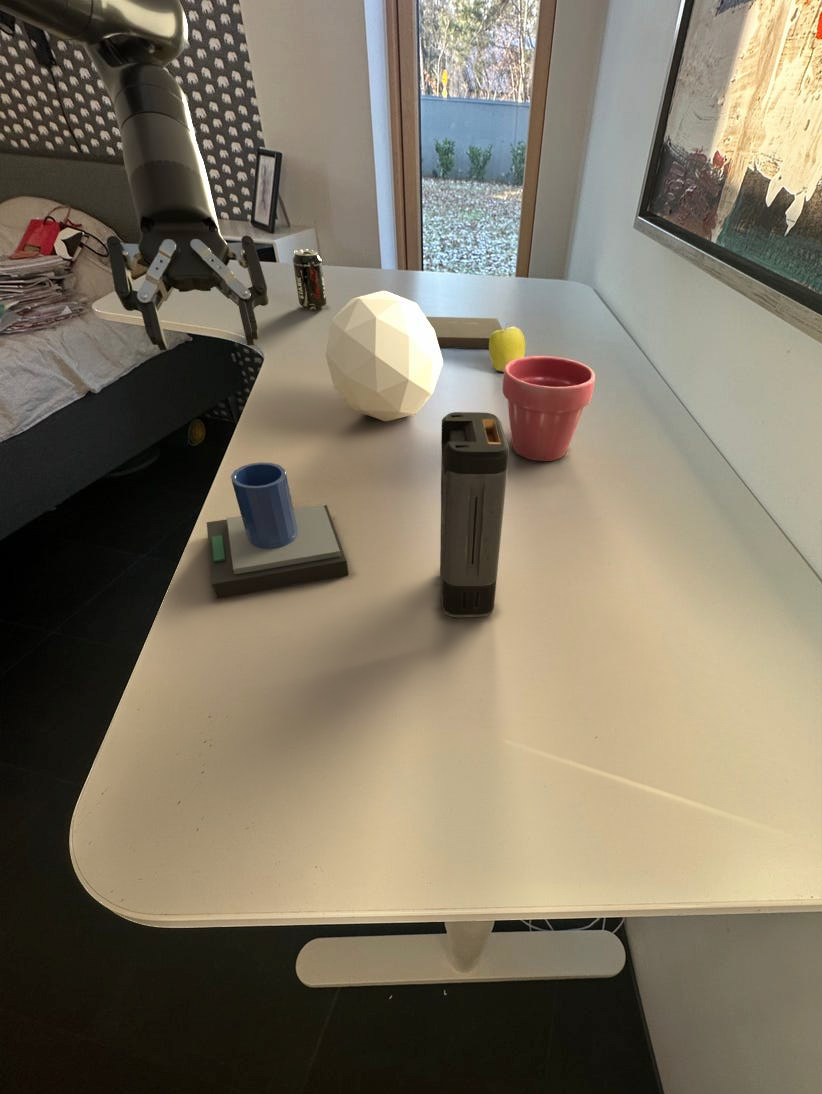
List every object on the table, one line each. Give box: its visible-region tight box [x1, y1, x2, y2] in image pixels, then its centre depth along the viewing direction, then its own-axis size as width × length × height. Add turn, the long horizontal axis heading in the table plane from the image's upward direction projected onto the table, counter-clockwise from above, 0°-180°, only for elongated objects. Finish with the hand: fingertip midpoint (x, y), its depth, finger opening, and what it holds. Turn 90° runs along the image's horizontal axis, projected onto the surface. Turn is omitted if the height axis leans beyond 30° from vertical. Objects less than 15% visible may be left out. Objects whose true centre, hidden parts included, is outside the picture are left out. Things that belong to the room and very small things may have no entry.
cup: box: [230, 461, 298, 549], centre depth 66 cm, size 6×6×8 cm
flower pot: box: [502, 355, 596, 462], centre depth 91 cm, size 14×14×13 cm
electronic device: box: [439, 411, 510, 618], centre depth 61 cm, size 9×6×20 cm, turn 6°
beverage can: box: [292, 249, 327, 311], centre depth 142 cm, size 7×7×12 cm
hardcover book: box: [425, 316, 503, 350], centre depth 134 cm, size 16×23×2 cm
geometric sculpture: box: [325, 290, 444, 422], centre depth 96 cm, size 19×20×20 cm
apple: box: [488, 324, 526, 373], centre depth 119 cm, size 8×8×10 cm
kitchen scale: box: [206, 503, 349, 600], centre depth 70 cm, size 15×13×3 cm
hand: (207, 344), depth 59 cm, fingers open, 8 cm apart
